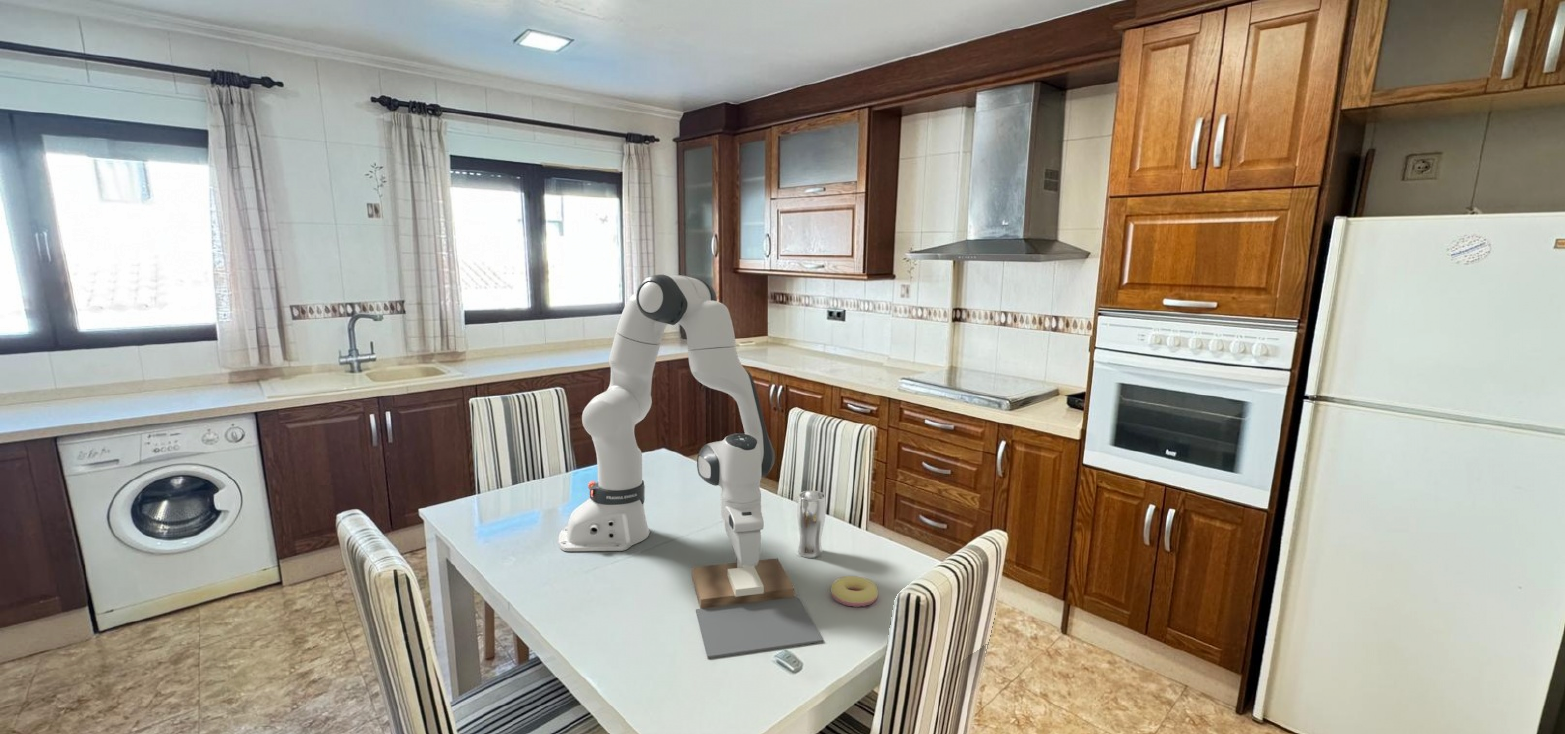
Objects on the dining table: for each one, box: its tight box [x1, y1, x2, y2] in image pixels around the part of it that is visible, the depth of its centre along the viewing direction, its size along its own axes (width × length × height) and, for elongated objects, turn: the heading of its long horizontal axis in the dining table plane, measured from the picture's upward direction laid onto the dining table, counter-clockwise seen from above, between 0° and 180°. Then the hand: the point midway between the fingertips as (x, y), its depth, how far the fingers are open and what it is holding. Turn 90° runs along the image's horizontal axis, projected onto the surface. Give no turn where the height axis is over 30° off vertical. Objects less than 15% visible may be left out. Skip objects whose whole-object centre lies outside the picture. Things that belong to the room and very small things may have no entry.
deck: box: [691, 558, 795, 609], centre depth 139 cm, size 20×14×2 cm
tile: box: [727, 566, 764, 597], centre depth 136 cm, size 6×9×2 cm, turn 15°
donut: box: [830, 575, 879, 608], centre depth 136 cm, size 10×5×9 cm
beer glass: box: [796, 490, 827, 559], centre depth 155 cm, size 7×7×15 cm
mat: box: [695, 596, 824, 660], centre depth 125 cm, size 22×16×1 cm
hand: (740, 566), depth 141 cm, fingers closed
